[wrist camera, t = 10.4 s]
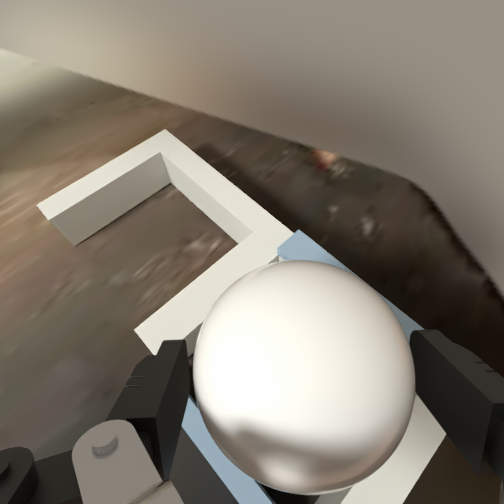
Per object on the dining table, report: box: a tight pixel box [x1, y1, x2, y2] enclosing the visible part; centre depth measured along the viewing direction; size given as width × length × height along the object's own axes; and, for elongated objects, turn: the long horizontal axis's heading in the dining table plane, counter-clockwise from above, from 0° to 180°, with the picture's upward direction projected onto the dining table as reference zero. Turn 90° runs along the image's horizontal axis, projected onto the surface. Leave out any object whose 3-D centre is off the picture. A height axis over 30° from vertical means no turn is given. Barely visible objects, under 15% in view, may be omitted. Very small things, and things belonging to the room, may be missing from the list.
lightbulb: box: [193, 260, 416, 495], centre depth 12 cm, size 6×6×11 cm
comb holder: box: [37, 129, 446, 504], centre depth 17 cm, size 23×11×4 cm, turn 44°
